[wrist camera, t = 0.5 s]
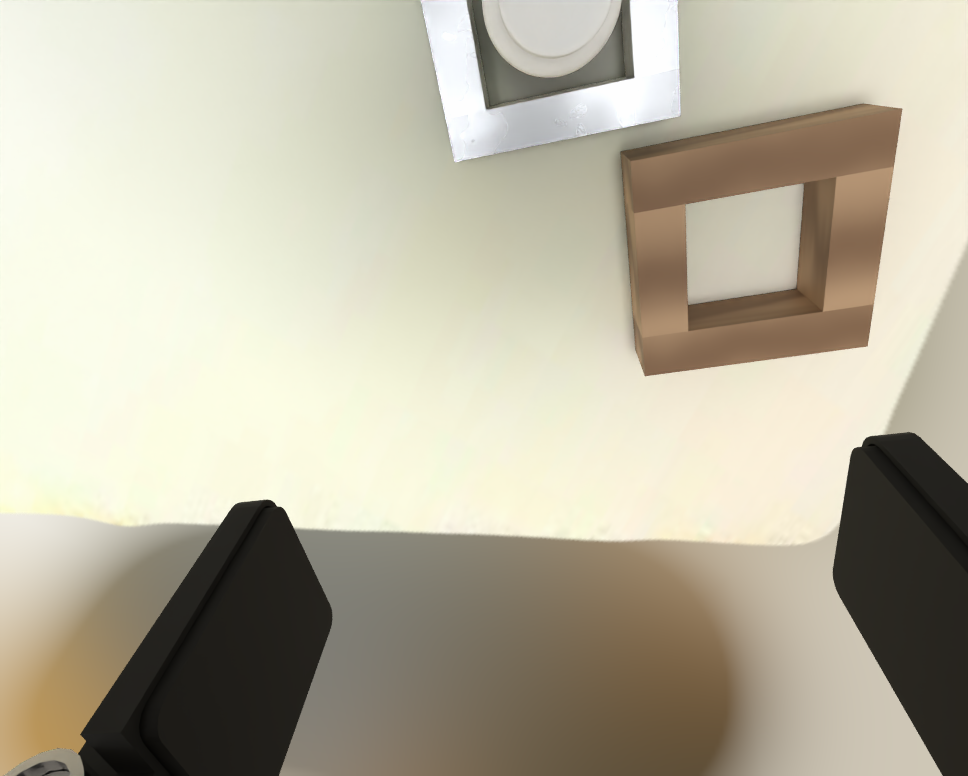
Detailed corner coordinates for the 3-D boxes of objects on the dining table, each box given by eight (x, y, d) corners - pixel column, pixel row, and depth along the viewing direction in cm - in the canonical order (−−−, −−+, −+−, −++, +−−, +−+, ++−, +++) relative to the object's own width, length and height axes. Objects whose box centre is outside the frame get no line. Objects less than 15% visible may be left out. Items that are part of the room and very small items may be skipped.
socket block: (409, -101, 26) (395, -119, 23) (657, -172, 24) (672, -200, 21) (461, 153, 31) (454, 162, 28) (667, 111, 29) (680, 116, 27)
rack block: (620, 151, 30) (630, 161, 27) (862, 103, 28) (902, 108, 25) (635, 349, 36) (644, 376, 33) (837, 321, 34) (867, 346, 31)
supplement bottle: (586, 85, 29) (609, 94, 20) (482, 64, 29) (462, 65, 20) (616, -46, 26) (657, -97, 18) (502, -69, 26) (488, -132, 18)
